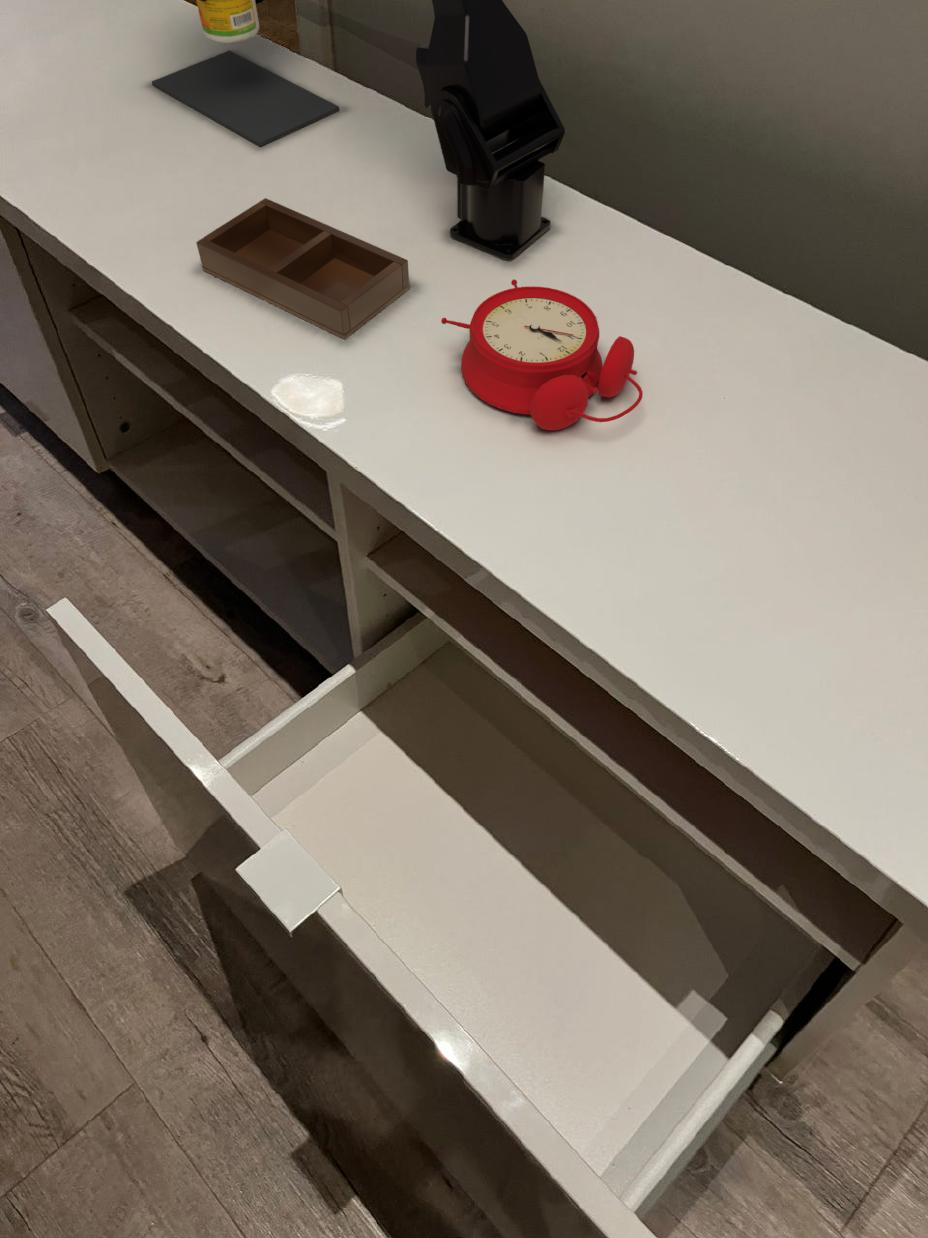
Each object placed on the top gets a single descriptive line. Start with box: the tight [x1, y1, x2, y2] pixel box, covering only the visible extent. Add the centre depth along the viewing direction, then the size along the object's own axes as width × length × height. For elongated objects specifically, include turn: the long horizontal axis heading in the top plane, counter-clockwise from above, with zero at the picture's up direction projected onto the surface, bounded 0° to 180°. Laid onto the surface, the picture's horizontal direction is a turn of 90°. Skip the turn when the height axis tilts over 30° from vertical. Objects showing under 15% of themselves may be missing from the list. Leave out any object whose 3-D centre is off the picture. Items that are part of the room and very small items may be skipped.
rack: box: [195, 197, 410, 340], centre depth 74 cm, size 8×15×3 cm, turn 54°
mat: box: [151, 50, 340, 148], centre depth 94 cm, size 18×10×1 cm, turn 45°
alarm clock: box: [440, 278, 644, 431], centre depth 66 cm, size 10×6×15 cm
